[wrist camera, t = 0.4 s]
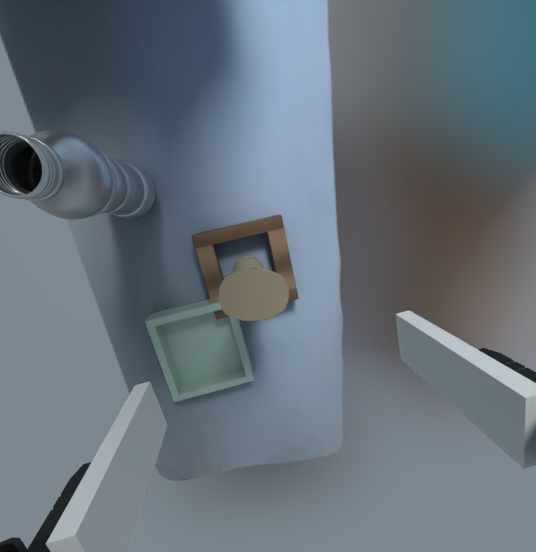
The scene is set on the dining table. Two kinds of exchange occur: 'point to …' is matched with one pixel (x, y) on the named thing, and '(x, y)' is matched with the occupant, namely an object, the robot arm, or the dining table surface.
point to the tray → (199, 349)
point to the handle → (253, 291)
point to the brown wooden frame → (209, 238)
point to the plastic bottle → (71, 176)
